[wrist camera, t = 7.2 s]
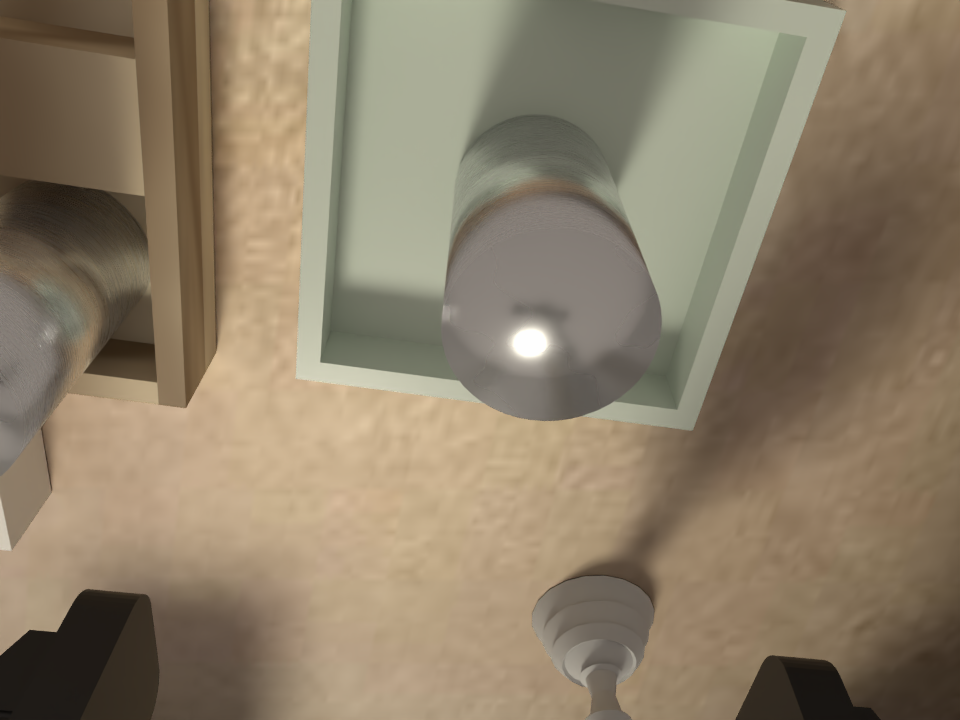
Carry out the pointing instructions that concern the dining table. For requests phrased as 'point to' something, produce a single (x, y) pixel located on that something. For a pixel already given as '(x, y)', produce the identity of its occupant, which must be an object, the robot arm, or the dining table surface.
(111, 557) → the dining table surface
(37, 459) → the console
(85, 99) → the pocket board
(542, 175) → the cylinder
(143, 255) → the cylinder
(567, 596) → the chalice
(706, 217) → the square tray frame
